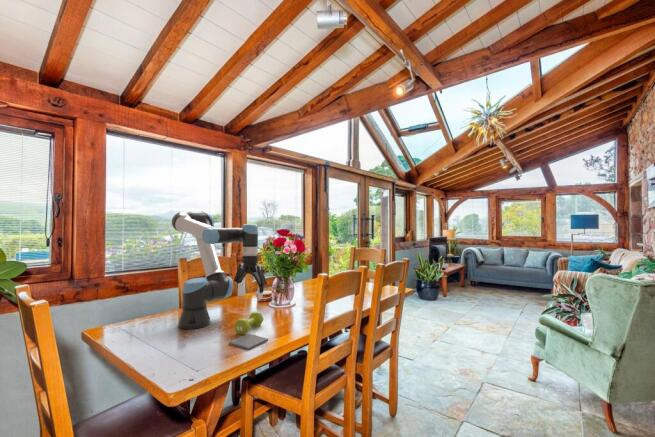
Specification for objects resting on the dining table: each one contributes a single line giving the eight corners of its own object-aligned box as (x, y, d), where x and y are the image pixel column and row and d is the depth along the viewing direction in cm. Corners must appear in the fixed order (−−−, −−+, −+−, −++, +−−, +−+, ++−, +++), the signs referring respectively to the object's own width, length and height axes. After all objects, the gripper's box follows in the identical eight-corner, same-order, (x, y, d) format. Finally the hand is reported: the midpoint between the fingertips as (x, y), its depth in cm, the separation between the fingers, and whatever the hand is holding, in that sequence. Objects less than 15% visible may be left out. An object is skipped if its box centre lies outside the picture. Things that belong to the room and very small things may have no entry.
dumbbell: (246, 336, 148) (246, 321, 148) (232, 334, 151) (232, 319, 151) (264, 325, 164) (264, 311, 164) (251, 323, 166) (251, 310, 166)
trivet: (229, 344, 139) (229, 341, 139) (248, 335, 149) (248, 333, 149) (248, 350, 133) (248, 347, 133) (268, 340, 143) (268, 338, 143)
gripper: (227, 254, 161) (226, 295, 160) (263, 257, 148) (263, 302, 147) (238, 253, 167) (237, 293, 167) (274, 255, 154) (274, 299, 154)
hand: (249, 297), depth 157 cm, fingers open, 13 cm apart
